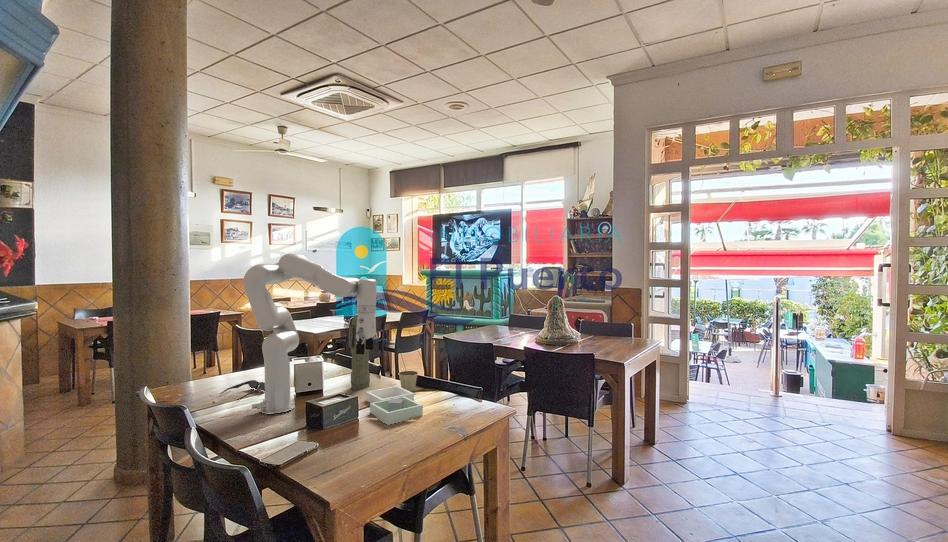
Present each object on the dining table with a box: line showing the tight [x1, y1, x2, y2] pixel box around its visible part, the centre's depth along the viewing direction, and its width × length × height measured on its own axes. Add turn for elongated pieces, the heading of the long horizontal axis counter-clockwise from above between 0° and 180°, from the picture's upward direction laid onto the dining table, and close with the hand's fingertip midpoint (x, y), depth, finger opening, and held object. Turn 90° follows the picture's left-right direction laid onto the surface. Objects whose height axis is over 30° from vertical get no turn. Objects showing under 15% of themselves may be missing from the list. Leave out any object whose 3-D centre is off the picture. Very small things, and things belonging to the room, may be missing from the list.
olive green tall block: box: [348, 314, 371, 391], centre depth 210 cm, size 9×12×35 cm
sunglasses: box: [220, 379, 265, 401], centre depth 198 cm, size 16×17×5 cm
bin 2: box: [369, 396, 424, 426], centre depth 170 cm, size 15×15×4 cm
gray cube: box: [388, 399, 404, 412], centre depth 170 cm, size 5×5×5 cm
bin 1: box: [365, 385, 415, 404], centre depth 186 cm, size 15×15×4 cm
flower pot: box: [397, 370, 419, 392], centre depth 203 cm, size 9×9×9 cm
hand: (364, 351), depth 175 cm, fingers open, 9 cm apart
